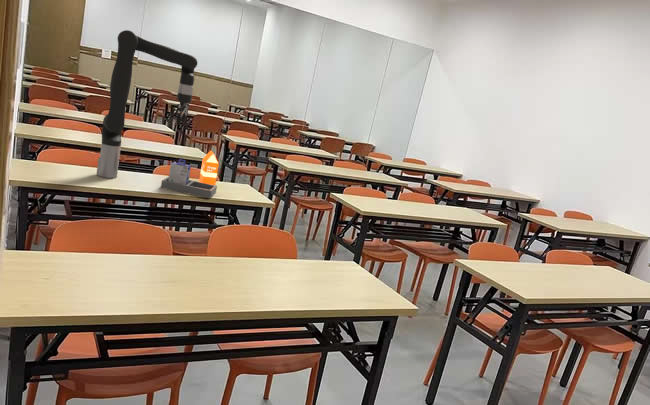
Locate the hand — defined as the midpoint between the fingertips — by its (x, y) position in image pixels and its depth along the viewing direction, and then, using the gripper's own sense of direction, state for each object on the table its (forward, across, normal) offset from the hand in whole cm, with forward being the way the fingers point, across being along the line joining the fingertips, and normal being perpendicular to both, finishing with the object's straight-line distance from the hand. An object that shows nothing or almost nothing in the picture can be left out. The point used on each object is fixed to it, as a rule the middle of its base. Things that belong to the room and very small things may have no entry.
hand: (180, 122), depth 265 cm
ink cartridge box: (+33, +8, +6) cm, 35 cm away
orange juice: (+34, -12, +17) cm, 40 cm away
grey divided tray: (+34, +8, +12) cm, 37 cm away
